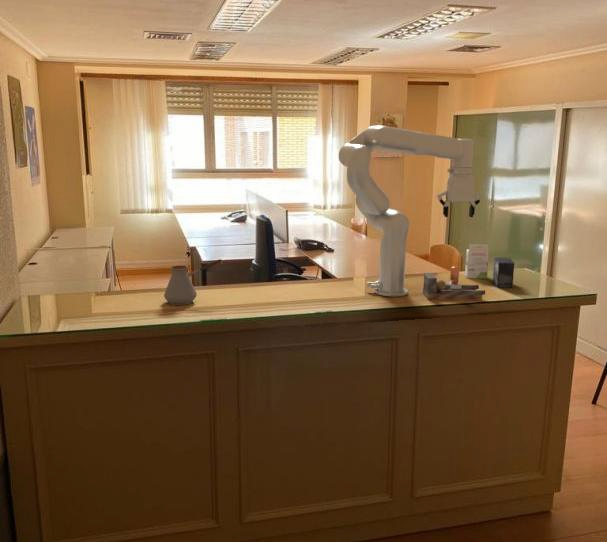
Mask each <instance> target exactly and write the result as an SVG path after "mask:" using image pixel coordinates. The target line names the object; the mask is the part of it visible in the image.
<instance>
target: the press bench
mask: <svg viewBox="0 0 607 542" xmlns="http://www.w3.org/2000/svg"><path fill="white" fill-rule="evenodd" d="M437 280H438V278H437V277H436V276H435V275H434V274H433V273H432V272H430V273H429V272H428V273H427V272H426V273H425V272H424V274H423V286H422V287H423V288H422V294H423V295H424V297H425V298H426V300H429V301H435V300H436V301H438V300H439V301H445V300H446V301H453V300H454V301H483V296H484V295H486V290H485V289H479V287H480V286H479V284H461V290H447V289H446V288H445V290H441V292H439V291H437V290H436V284H437ZM446 285H447V283H446Z"/></svg>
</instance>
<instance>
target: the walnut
mask: <svg viewBox="0 0 607 542" xmlns="http://www.w3.org/2000/svg"><path fill="white" fill-rule="evenodd" d="M446 284H447V282H446V281H444V280H443V279H437V284H436V290H437V291H439V292H441V290H445V288H446Z"/></svg>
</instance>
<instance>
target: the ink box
mask: <svg viewBox="0 0 607 542" xmlns="http://www.w3.org/2000/svg"><path fill="white" fill-rule="evenodd" d="M479 247H480V248H479ZM465 253H466V254H465V268H464V269H465V271H464V276H465V278H467V279H488V270H489V256H490V255H489V254H490V253H489V244H488V243H487V244H484V243H482V244H481V243H470V244H468V249H466V252H465Z"/></svg>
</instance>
